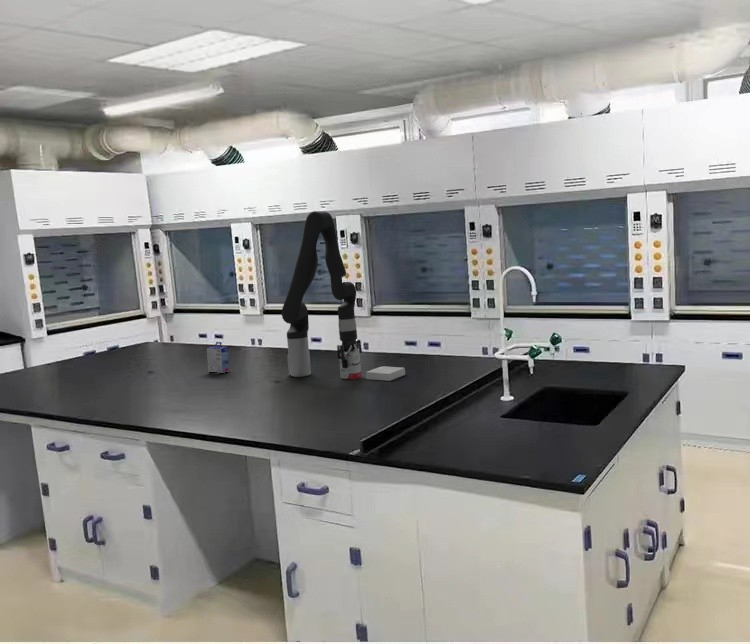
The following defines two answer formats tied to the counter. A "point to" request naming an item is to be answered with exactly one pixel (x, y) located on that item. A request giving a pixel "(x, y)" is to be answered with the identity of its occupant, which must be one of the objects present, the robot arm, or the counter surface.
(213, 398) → the counter surface
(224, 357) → the ink cartridge box
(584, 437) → the counter surface
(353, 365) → the ink box
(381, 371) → the stand
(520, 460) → the counter surface
